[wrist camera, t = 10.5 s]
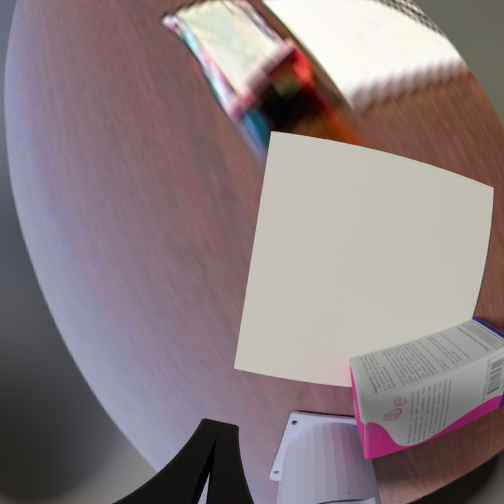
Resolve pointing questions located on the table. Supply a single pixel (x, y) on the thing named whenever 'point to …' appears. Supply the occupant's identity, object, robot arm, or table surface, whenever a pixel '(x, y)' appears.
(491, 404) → the supplement box
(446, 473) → the table surface
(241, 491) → the robot arm
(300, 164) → the grey mat
